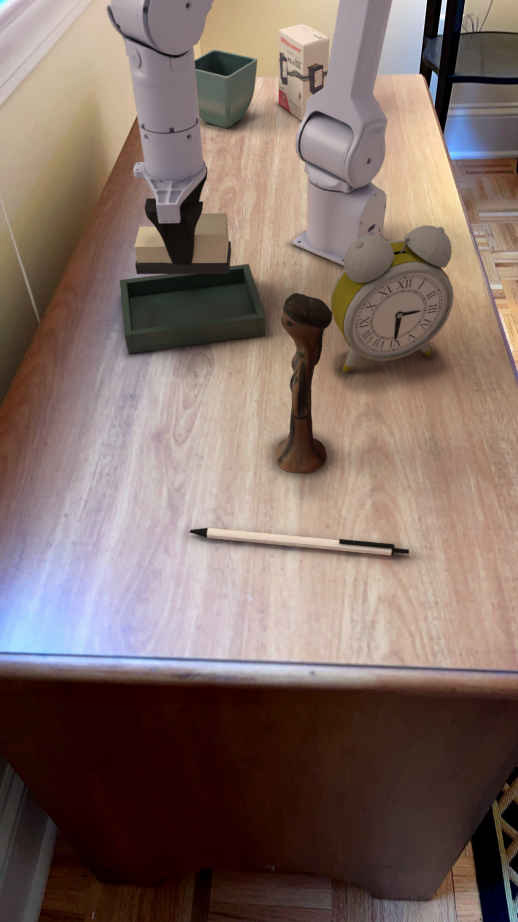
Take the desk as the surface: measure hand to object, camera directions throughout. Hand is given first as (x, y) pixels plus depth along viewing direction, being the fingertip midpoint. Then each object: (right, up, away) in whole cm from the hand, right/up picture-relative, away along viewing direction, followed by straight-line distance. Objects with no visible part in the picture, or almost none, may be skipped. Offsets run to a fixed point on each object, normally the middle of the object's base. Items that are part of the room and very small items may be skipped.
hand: (184, 249), depth 74 cm
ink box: (+15, +37, +43) cm, 59 cm away
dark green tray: (0, -6, +7) cm, 9 cm away
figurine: (+12, -22, -7) cm, 26 cm away
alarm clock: (+21, -11, +2) cm, 24 cm away
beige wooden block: (0, -1, +1) cm, 2 cm away
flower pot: (+2, +34, +41) cm, 54 cm away
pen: (+11, -30, -15) cm, 35 cm away
